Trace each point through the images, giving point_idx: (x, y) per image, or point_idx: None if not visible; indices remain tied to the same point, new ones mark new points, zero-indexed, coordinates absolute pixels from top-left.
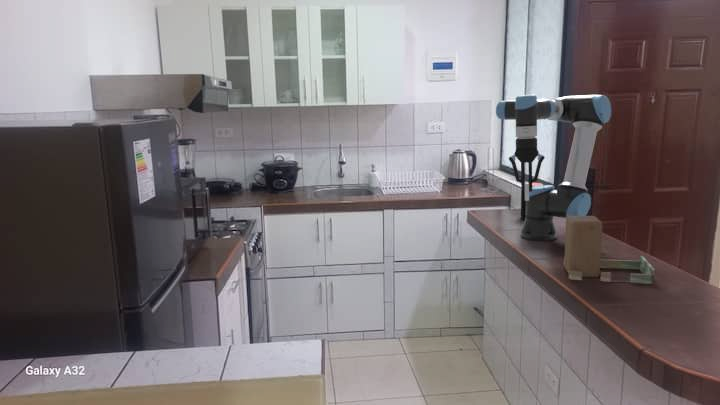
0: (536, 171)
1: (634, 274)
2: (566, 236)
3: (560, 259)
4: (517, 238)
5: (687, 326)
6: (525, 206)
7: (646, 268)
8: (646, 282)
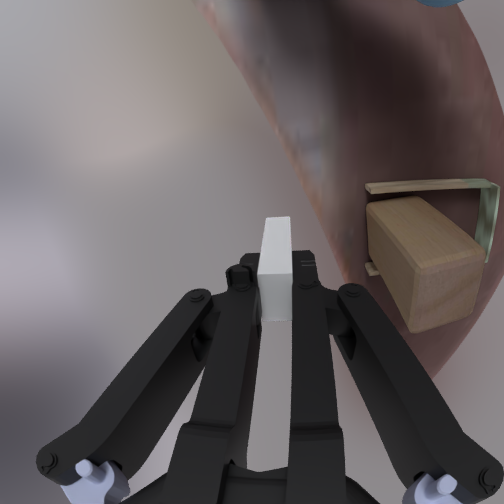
0: (367, 392)
1: None
2: (393, 256)
3: (359, 138)
4: None
5: (440, 353)
6: None
7: (486, 229)
8: None
